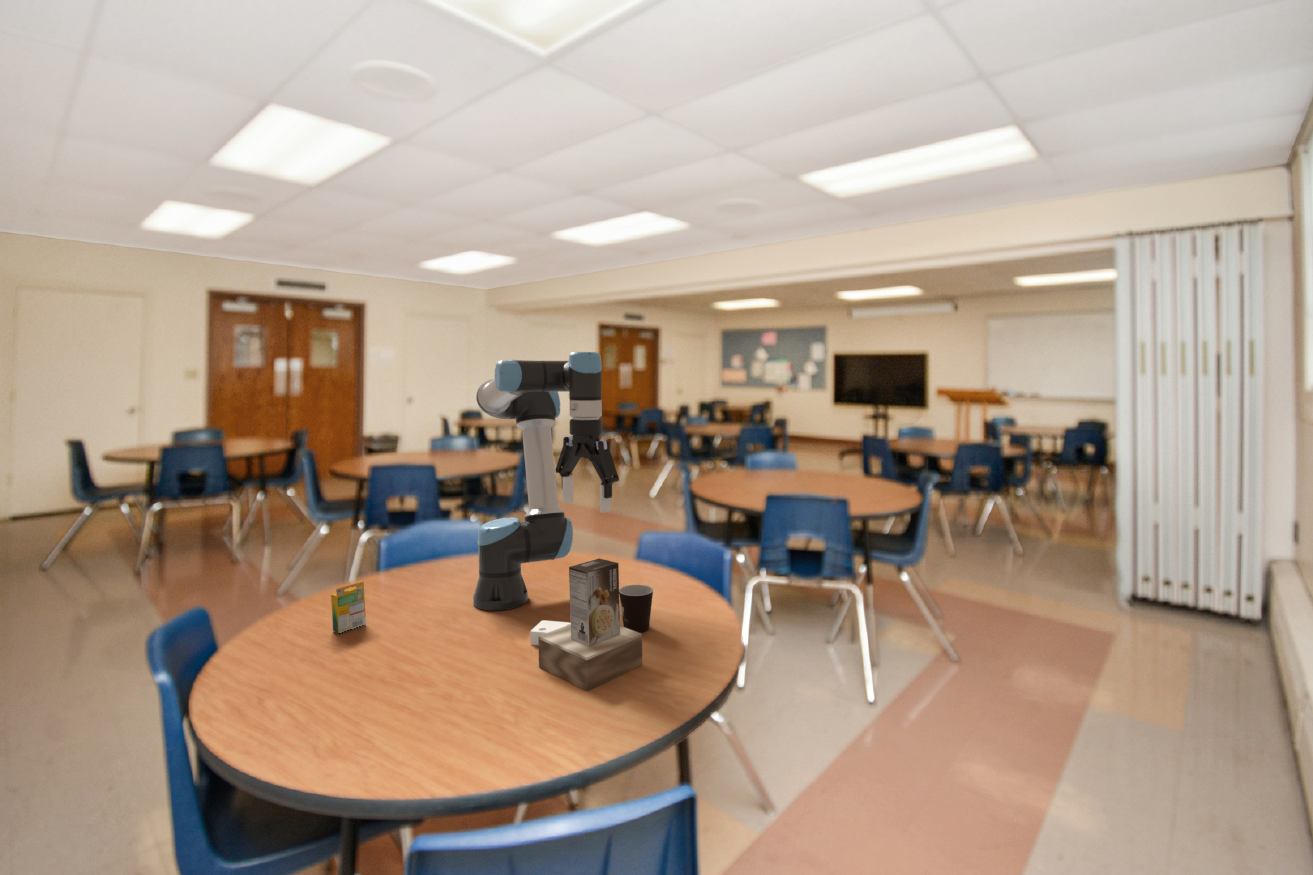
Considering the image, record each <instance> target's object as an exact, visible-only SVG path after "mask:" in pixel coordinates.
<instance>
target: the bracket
mask: <svg viewBox="0 0 1313 875" xmlns="http://www.w3.org/2000/svg"><path fill="white" fill-rule="evenodd" d="M570 624H571V622H568V621H557V620H543V619H542V620H541V621H540V622H539V623H537V624H536V625H535V626H534V627H533V628H532V629H531V630H530V632H529V634H530V635H529V636H530V646H531V645H532V646H539V645H538V636H540V635H543V634H545V633H548V632H551V631H554V630H556V629H559V628H562V627H565V626H567V625H570Z"/></svg>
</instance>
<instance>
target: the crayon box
mask: <svg viewBox="0 0 1313 875" xmlns="http://www.w3.org/2000/svg"><path fill="white" fill-rule="evenodd" d="M335 589H336V592H335V593H332V594H330V596H331V597H330V599H331V600H330V602H331V616H332V617H331V618H332V619H331V620H332V632H333V631H335V632H336V633H335V632H334V633H335V634H337V633H341V634H343V633H345V632H344V631H346V632H348V631H347V630H349V629H352V630H355V629H356V628H355V627H358V628H360V627H359V626H361V625H365V626H366V625H367V619H366V618H367V617H366V602H365V598H366V597H365V583H364V581H361V582H357V583H353V584H349V585H346V586H342V587H338V588H335ZM361 627H362V626H361ZM354 628H355V629H354ZM349 631H350V630H349ZM342 632H343V633H342Z"/></svg>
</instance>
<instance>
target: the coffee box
mask: <svg viewBox="0 0 1313 875" xmlns="http://www.w3.org/2000/svg"><path fill="white" fill-rule="evenodd" d="M619 565H620V564H619V562H615V561H612V560H608V559H603V558H595V559H593V560H589V561H585V562H581V563H578V564H575V565H571V566H568V578H569V580H568V582H569V606H570V607H569V608H570V609H569V612H570V614H569V616H570V623H571V639H573V640H575V641H578V642H580V643H583V644H585V645H587V646H592V645H594V644H597V643H599V642H601V641H604V640H606V639H608V638H611V637H613V636H616V635H618V634H620V626H621V621H620V620H621V619H620V617H621V613H620V609H621V606H620V595H619V589H620V578H619V577H620V574H619V573H620V572H619V569H620V568H619Z"/></svg>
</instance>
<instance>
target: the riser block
mask: <svg viewBox="0 0 1313 875" xmlns="http://www.w3.org/2000/svg"><path fill="white" fill-rule="evenodd" d="M537 646H538V667H539V669H542V670H543V671H546V672H548V673H550V674H552V675H554V676H556V677H558V678H560V679H562V680H564V681H565V682H568V683H570V684H572V685H574V686H576V687H578V688H580V689H583V690H584V691H586V692H589V691H591V690H593V689H594V688H596V687H599V686H600V685H603V684H605V683H608V682H609V681H611V680H613V679H616V678H618V677H619V676H622V675H624V674H626V673H628V672H630V671H632V670H634V669H636V668H638V667H641V666H642V665H643V633H638V632H636V631H633V630H630V629H628V628H625V627H624V626H623V625H620V634H618V635H616V636H613V637H611V638H608V639H606V640H604V641H601V642H599V643H597V644H594V645H592V646H587V645H585V644H583V643H580V642H578V641H575V640H573V639H571V624H570V625H567V626H565V627H562V628H559V629H556V630H554V631H551V632H548V633H545V634H543V635H540V636H538V645H537Z"/></svg>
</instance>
